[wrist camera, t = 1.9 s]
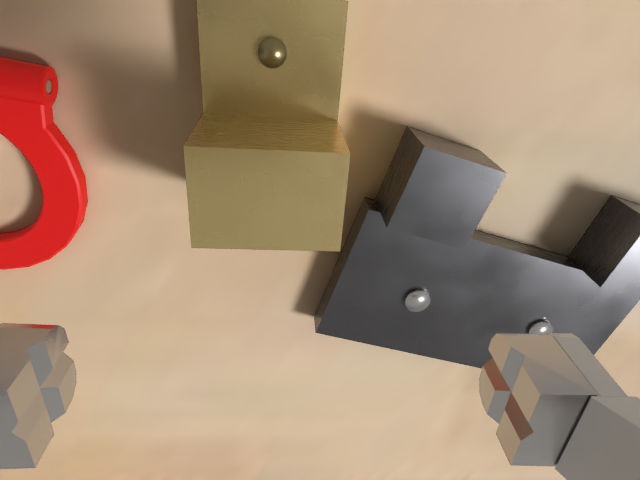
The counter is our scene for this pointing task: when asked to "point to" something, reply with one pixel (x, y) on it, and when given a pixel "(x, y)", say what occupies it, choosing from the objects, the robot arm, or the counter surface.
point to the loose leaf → (269, 126)
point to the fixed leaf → (470, 265)
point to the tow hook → (40, 163)
